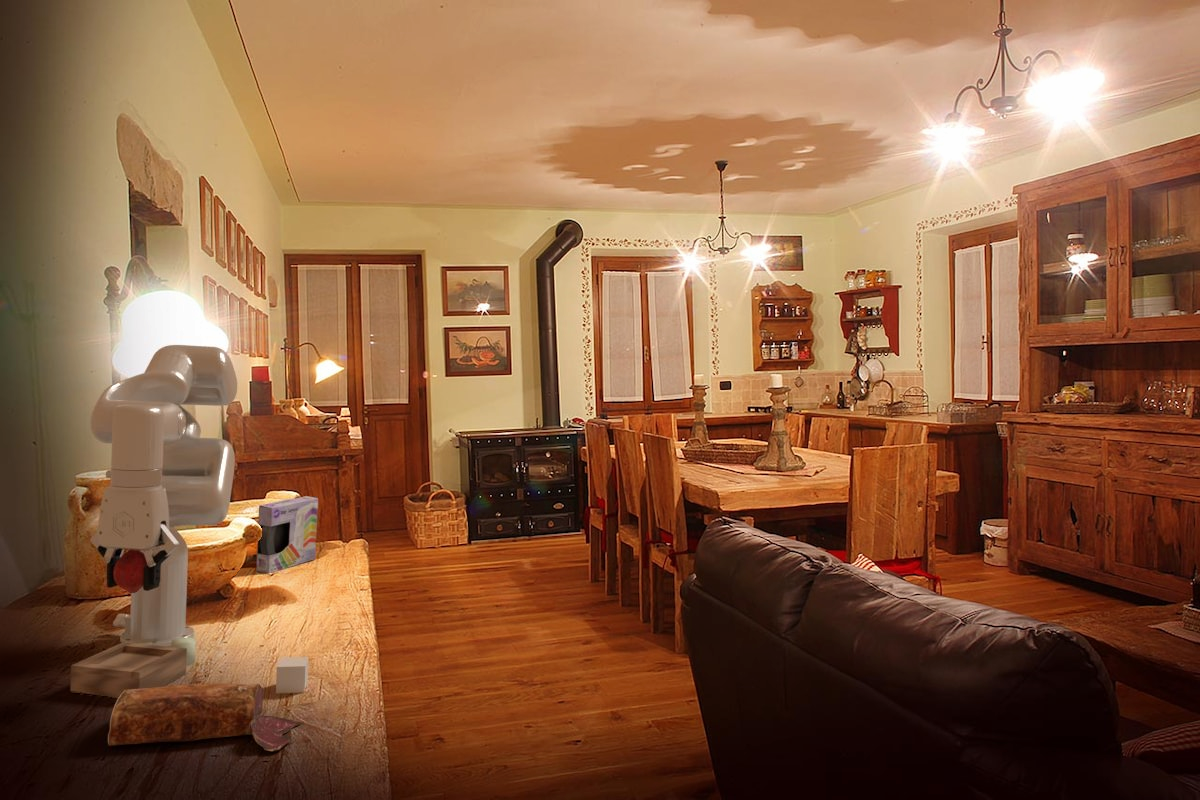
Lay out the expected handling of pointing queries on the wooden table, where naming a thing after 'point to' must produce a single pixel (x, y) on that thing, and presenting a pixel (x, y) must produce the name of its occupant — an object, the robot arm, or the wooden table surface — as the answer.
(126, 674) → the shallow wooden tray
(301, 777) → the wooden table surface
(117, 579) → the red fruit
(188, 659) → the sage painted capsule
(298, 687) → the grey ceramic cube
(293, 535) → the cake pan box
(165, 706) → the cured meat
